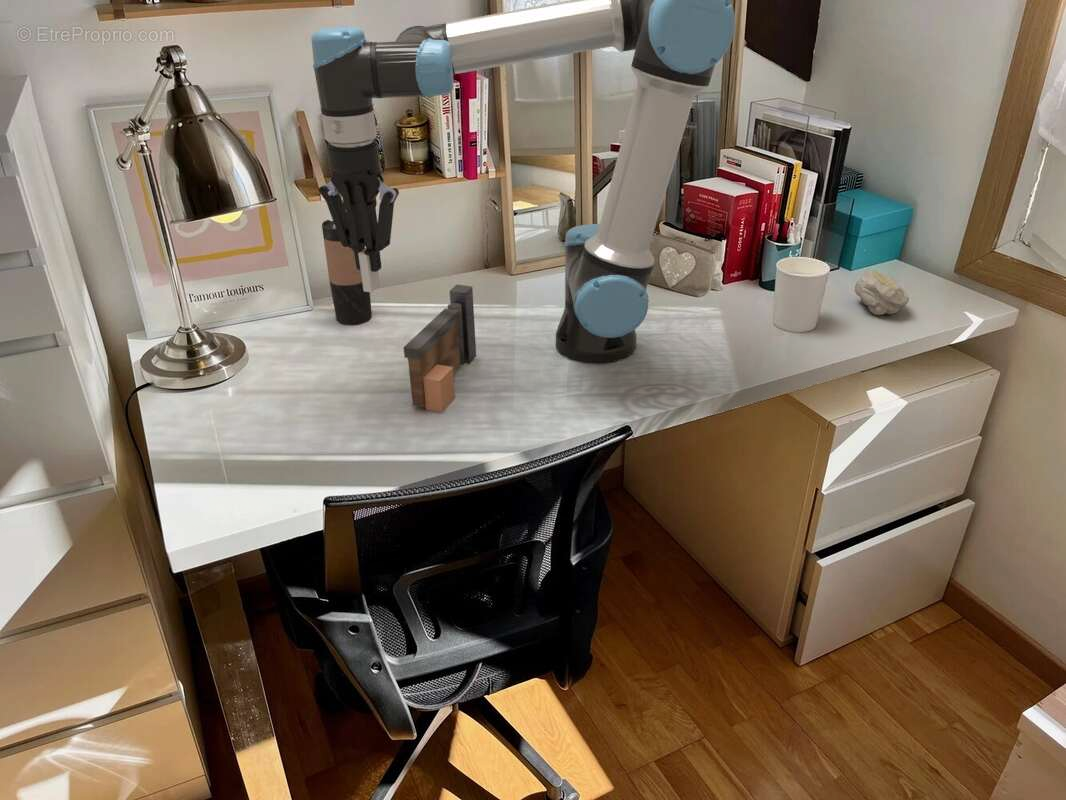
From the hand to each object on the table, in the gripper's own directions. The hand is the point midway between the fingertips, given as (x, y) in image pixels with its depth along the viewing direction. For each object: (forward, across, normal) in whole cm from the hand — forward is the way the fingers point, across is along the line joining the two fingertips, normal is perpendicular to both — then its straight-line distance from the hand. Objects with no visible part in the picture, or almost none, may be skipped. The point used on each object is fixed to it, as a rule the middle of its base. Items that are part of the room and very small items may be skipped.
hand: (371, 288), depth 139 cm
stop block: (+19, +11, -1) cm, 22 cm away
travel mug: (+19, -21, +24) cm, 37 cm away
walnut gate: (+18, +9, +4) cm, 20 cm away
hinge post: (+19, +8, +15) cm, 26 cm away
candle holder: (+20, +63, +50) cm, 83 cm away
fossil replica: (+21, +78, +62) cm, 102 cm away
